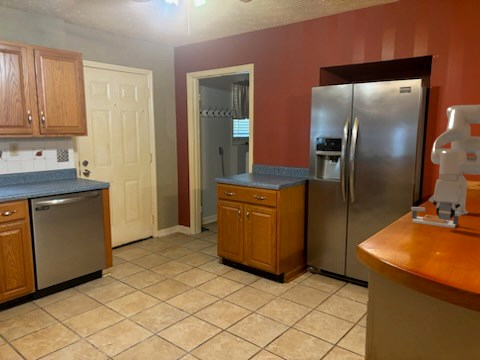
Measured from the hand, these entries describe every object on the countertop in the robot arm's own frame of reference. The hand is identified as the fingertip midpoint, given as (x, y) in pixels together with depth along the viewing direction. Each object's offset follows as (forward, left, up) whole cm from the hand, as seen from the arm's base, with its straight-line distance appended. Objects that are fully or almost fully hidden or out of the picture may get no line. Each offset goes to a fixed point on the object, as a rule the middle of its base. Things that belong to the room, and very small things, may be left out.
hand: (445, 216), depth 163 cm
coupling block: (0, 0, -1) cm, 1 cm away
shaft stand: (-11, +1, -6) cm, 13 cm away
